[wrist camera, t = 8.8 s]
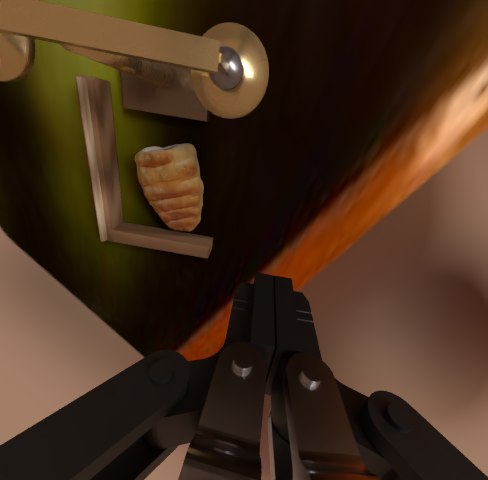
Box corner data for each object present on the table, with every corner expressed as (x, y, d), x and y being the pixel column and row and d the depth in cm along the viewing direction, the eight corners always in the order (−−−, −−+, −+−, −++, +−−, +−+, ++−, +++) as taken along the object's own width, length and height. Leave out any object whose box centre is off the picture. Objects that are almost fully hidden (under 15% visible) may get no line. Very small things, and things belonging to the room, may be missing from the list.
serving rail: (94, 79, 22) (69, 72, 19) (226, 100, 22) (220, 96, 19) (112, 230, 29) (96, 241, 26) (212, 248, 29) (206, 261, 26)
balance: (77, 100, 23) (-167, 65, 10) (65, 21, 20) (-288, -163, 7) (262, 130, 23) (254, 135, 10) (274, 54, 20) (286, -80, 7)
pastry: (216, 222, 28) (208, 236, 24) (163, 229, 29) (149, 243, 25) (196, 138, 24) (183, 140, 20) (136, 149, 25) (115, 153, 21)
